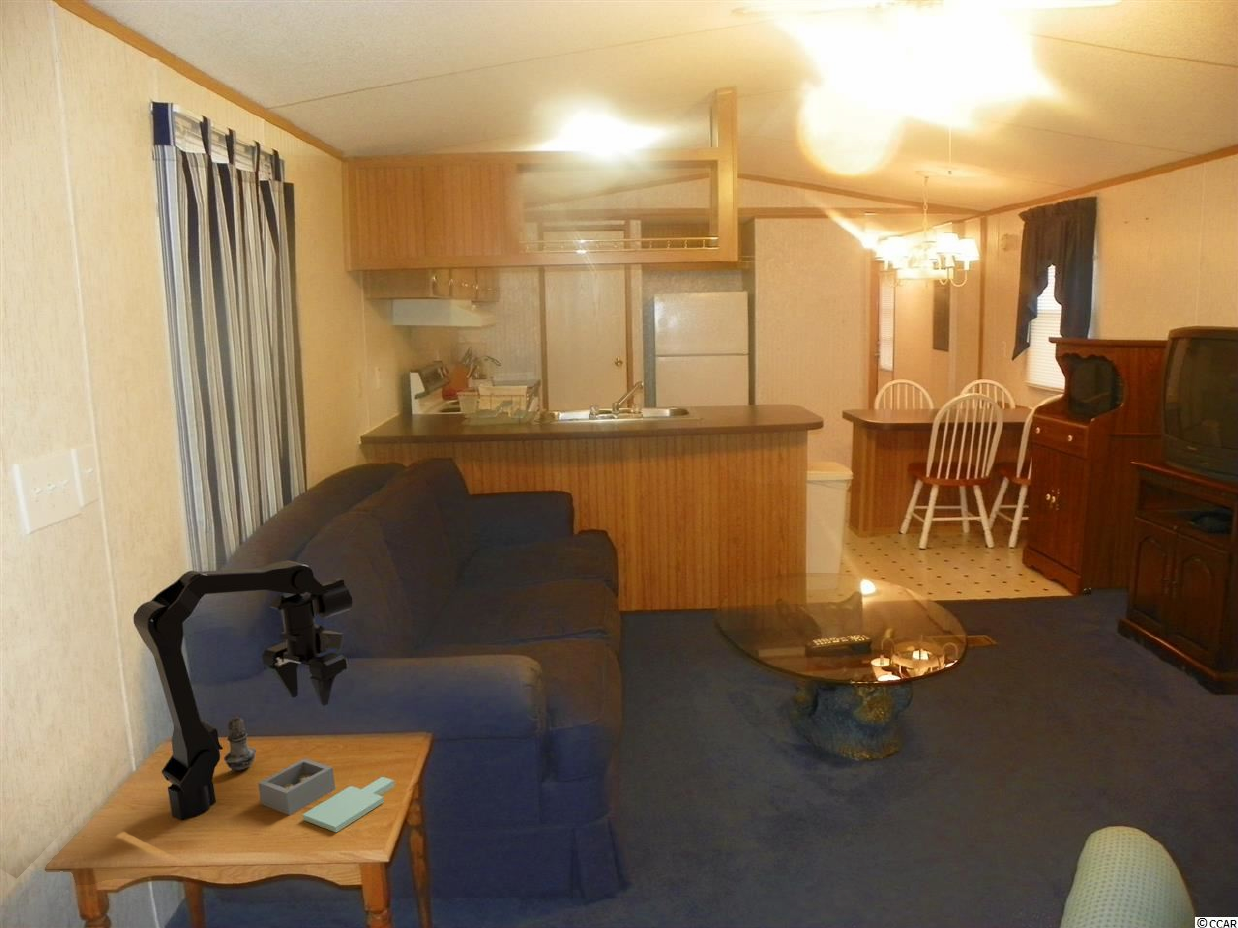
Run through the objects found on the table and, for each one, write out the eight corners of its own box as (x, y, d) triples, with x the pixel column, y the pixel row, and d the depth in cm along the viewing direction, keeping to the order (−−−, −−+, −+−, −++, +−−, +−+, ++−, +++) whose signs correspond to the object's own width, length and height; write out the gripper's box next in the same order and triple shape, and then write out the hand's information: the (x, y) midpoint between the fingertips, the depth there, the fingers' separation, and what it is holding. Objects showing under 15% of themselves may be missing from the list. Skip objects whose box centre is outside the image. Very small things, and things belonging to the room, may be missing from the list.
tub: (290, 819, 160) (286, 792, 159) (262, 808, 164) (258, 782, 163) (335, 792, 168) (332, 767, 167) (307, 782, 172) (304, 758, 172)
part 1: (288, 806, 163) (286, 791, 162) (279, 803, 164) (277, 788, 164) (299, 799, 165) (297, 785, 164) (290, 796, 166) (288, 782, 165)
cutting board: (337, 837, 153) (335, 826, 153) (304, 824, 158) (302, 814, 157) (405, 793, 166) (404, 783, 165) (373, 783, 171) (371, 773, 170)
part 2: (306, 795, 166) (304, 781, 165) (298, 792, 167) (296, 778, 167) (317, 789, 168) (315, 775, 167) (309, 786, 169) (307, 772, 169)
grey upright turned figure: (264, 767, 180) (256, 710, 178) (238, 781, 175) (230, 723, 173) (246, 761, 183) (237, 705, 181) (220, 775, 178) (211, 717, 176)
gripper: (364, 618, 178) (373, 693, 181) (303, 606, 189) (312, 677, 191) (318, 636, 169) (328, 715, 172) (256, 623, 179) (266, 698, 182)
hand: (309, 700), depth 179 cm, fingers open, 9 cm apart
